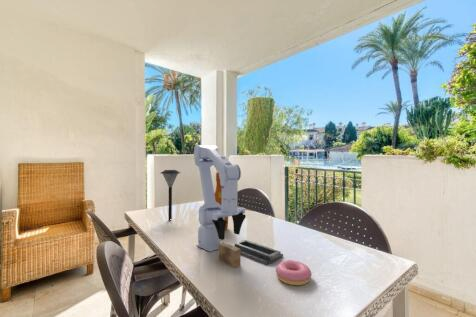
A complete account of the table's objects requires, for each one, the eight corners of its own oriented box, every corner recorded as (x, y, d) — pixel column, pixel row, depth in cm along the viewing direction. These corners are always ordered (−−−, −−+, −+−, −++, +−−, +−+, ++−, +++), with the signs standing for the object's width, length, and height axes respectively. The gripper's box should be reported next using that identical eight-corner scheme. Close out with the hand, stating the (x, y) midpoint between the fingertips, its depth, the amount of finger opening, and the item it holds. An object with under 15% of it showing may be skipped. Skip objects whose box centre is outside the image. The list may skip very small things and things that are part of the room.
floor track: (231, 250, 94) (231, 244, 94) (247, 244, 101) (247, 238, 101) (267, 265, 81) (267, 258, 81) (283, 256, 89) (283, 250, 89)
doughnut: (285, 266, 81) (285, 255, 81) (317, 277, 74) (317, 264, 74) (269, 279, 72) (269, 266, 72) (302, 292, 65) (302, 277, 65)
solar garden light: (158, 218, 142) (158, 169, 142) (178, 216, 148) (178, 169, 147) (160, 223, 131) (161, 170, 131) (182, 221, 136) (182, 170, 136)
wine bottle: (206, 231, 119) (207, 172, 118) (213, 225, 128) (213, 171, 128) (225, 233, 116) (225, 173, 116) (230, 227, 126) (230, 171, 126)
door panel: (218, 260, 86) (218, 243, 86) (223, 258, 87) (223, 242, 87) (235, 268, 79) (235, 250, 79) (240, 266, 81) (240, 248, 81)
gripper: (221, 202, 75) (221, 244, 75) (251, 197, 86) (250, 234, 86) (208, 199, 80) (207, 239, 80) (237, 195, 91) (237, 230, 91)
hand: (229, 236), depth 83 cm, fingers open, 7 cm apart
